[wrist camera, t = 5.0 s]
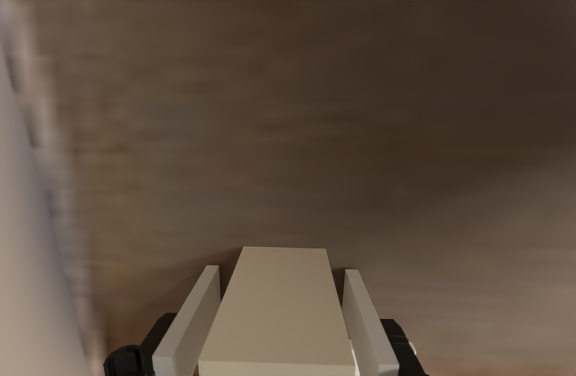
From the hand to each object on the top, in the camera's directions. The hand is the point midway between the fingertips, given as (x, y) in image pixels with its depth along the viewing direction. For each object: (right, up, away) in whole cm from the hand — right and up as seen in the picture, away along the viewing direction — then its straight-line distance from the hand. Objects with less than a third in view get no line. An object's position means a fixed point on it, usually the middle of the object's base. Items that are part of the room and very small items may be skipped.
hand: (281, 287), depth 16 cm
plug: (0, 0, 0) cm, 0 cm away
